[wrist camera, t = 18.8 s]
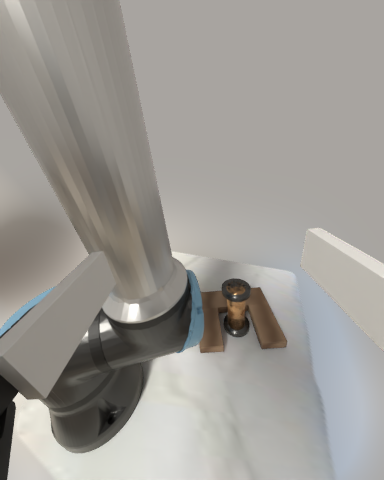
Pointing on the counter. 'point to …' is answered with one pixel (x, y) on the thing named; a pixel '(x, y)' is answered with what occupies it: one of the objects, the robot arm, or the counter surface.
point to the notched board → (259, 314)
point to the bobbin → (236, 306)
